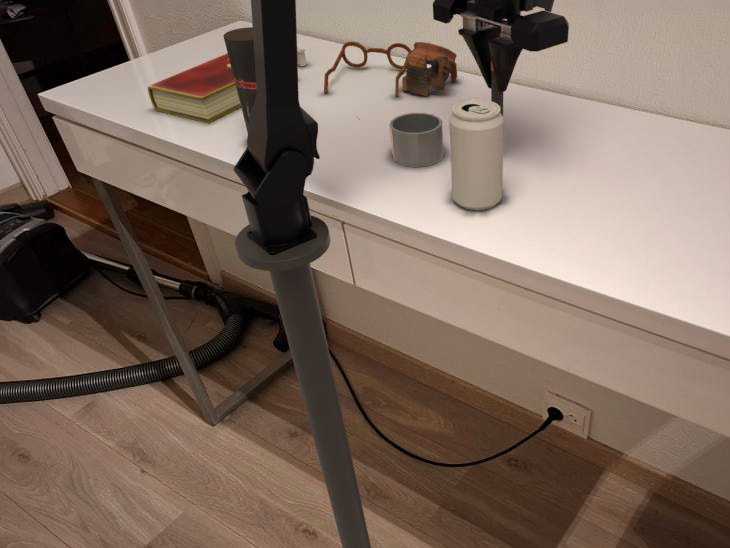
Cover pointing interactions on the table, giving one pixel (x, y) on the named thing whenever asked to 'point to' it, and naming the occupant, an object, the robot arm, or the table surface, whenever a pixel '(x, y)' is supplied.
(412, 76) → the brown jagged blocky figurine
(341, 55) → the glasses
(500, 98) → the rod
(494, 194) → the beverage can
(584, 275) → the table surface
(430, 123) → the pen pot
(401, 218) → the table surface
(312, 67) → the table surface
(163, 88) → the hardcover book
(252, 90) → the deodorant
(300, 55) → the garden wall model
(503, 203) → the table surface
